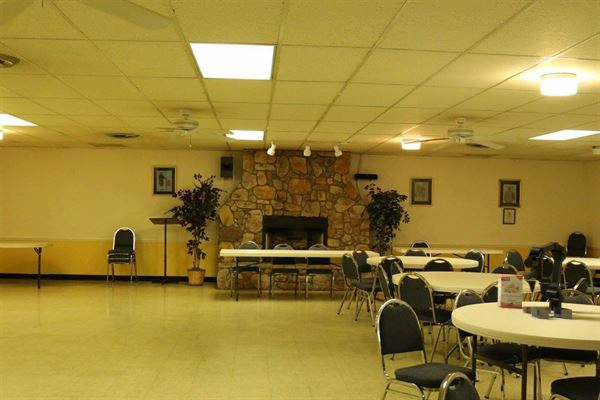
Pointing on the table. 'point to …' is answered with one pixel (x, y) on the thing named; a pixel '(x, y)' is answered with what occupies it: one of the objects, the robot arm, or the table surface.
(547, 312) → the brackets
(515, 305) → the cracker box
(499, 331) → the table surface
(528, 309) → the walnut rail
